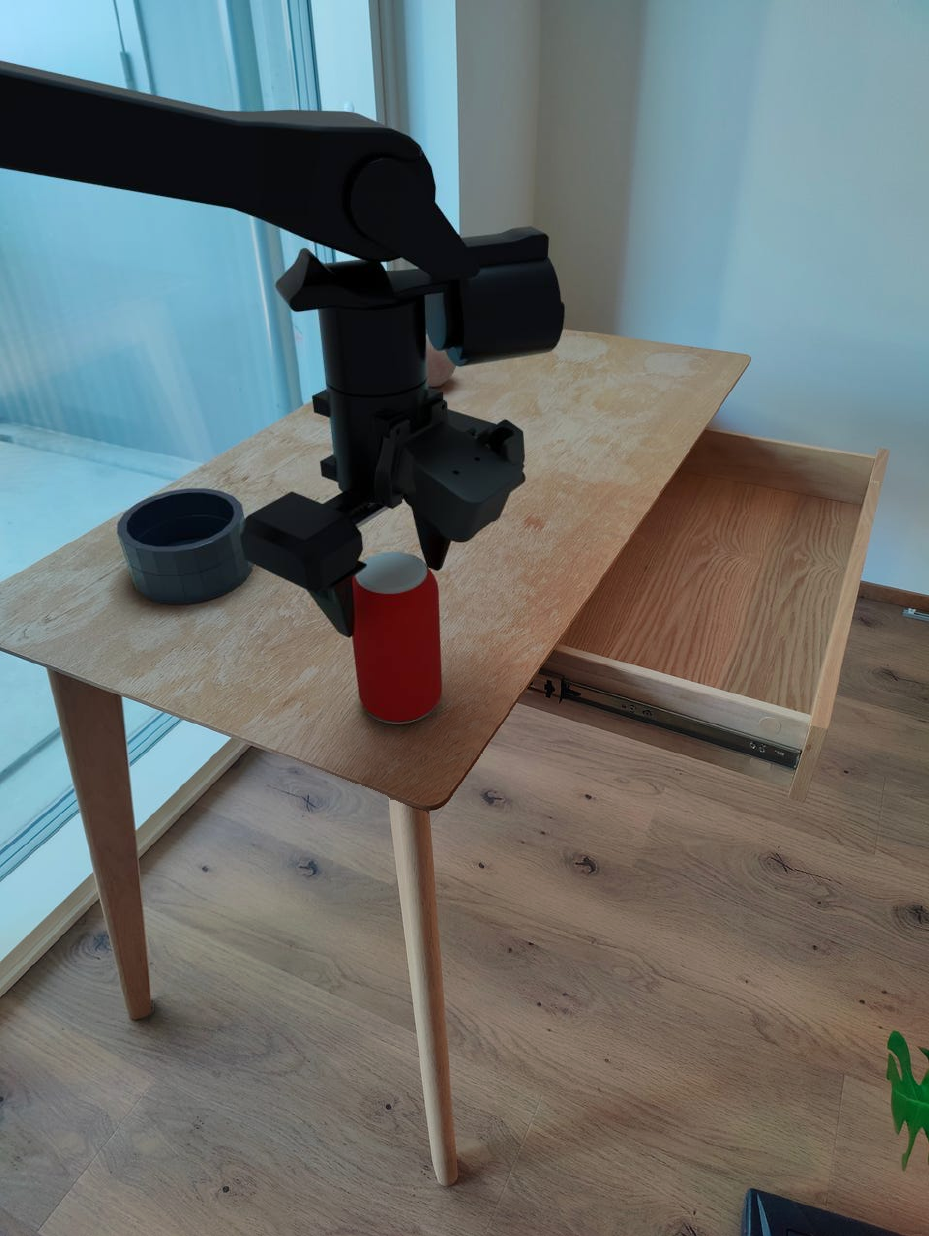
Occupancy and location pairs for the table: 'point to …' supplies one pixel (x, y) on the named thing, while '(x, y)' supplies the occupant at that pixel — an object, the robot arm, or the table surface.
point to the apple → (437, 365)
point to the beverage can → (397, 637)
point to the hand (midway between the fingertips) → (392, 599)
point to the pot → (184, 545)
